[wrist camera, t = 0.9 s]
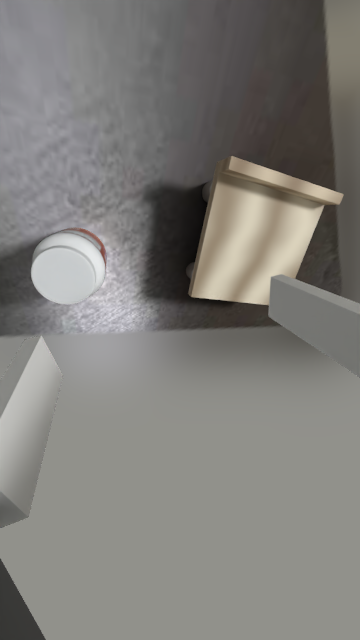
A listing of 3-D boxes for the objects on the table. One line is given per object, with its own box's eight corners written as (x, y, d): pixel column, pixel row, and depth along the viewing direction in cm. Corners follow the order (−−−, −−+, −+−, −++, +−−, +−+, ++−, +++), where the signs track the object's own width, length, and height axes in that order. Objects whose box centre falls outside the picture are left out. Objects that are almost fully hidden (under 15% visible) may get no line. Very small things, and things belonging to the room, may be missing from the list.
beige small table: (177, 282, 32) (196, 303, 25) (199, 169, 27) (231, 155, 20) (258, 292, 37) (293, 312, 30) (291, 197, 31) (343, 194, 24)
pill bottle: (90, 287, 30) (81, 326, 20) (42, 260, 27) (3, 289, 17) (116, 248, 28) (119, 268, 19) (68, 215, 25) (42, 219, 16)
